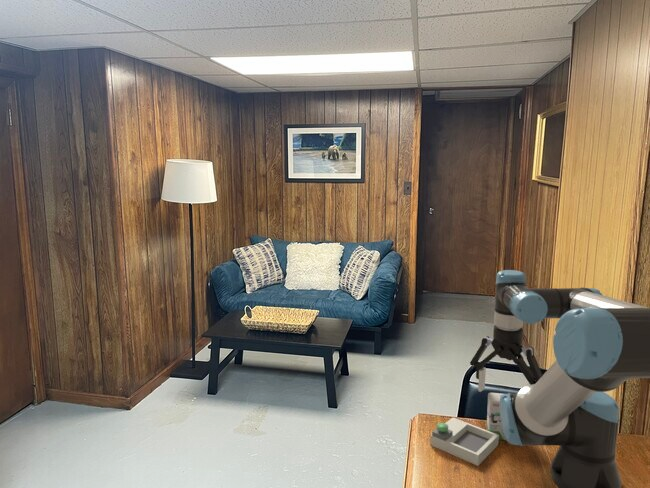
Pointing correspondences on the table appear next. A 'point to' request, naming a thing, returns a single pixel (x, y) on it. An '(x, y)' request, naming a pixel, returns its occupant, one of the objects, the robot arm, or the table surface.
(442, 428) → the button
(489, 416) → the ink box
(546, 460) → the table surface
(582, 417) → the robot arm
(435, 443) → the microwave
